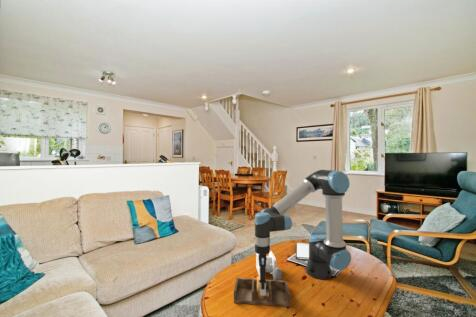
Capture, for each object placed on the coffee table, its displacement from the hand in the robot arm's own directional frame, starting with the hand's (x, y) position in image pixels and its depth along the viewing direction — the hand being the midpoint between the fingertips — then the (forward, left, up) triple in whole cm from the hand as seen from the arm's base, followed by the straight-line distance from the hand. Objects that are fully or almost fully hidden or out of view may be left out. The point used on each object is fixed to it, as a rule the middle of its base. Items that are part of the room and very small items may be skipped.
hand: (262, 287), depth 110 cm
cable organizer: (-3, -25, -6) cm, 26 cm away
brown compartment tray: (0, -2, -6) cm, 6 cm away
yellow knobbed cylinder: (+1, 0, -5) cm, 5 cm away
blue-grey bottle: (-9, -12, -6) cm, 16 cm away
